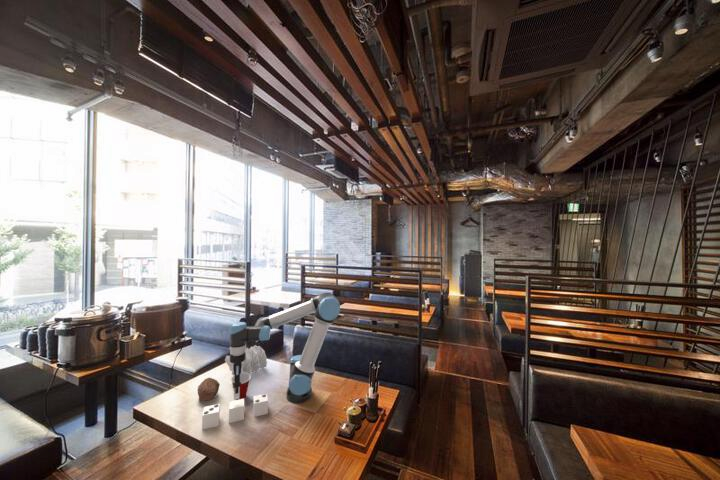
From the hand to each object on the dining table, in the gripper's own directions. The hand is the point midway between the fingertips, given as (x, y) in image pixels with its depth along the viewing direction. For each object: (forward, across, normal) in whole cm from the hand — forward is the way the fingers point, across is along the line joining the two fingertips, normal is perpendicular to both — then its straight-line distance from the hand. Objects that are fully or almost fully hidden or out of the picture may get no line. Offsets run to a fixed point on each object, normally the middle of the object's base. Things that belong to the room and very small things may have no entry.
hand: (236, 398), depth 137 cm
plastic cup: (+10, -17, +2) cm, 20 cm away
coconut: (+10, -25, -15) cm, 31 cm away
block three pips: (+10, 0, -11) cm, 15 cm away
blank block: (+10, 0, 0) cm, 10 cm away
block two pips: (+10, 0, +12) cm, 15 cm away
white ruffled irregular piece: (+10, -45, +6) cm, 46 cm away
